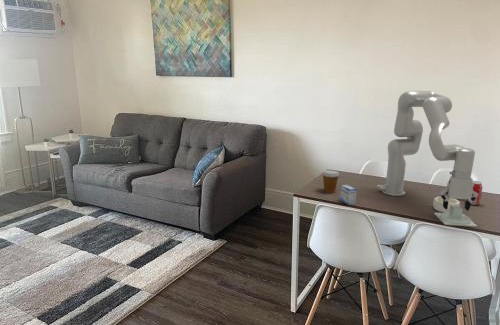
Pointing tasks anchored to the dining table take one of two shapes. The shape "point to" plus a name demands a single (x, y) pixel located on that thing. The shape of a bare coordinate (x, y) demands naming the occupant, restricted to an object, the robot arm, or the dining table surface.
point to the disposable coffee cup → (330, 180)
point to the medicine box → (348, 194)
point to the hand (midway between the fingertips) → (455, 209)
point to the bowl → (439, 204)
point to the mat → (455, 224)
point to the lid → (455, 216)
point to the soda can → (478, 189)
